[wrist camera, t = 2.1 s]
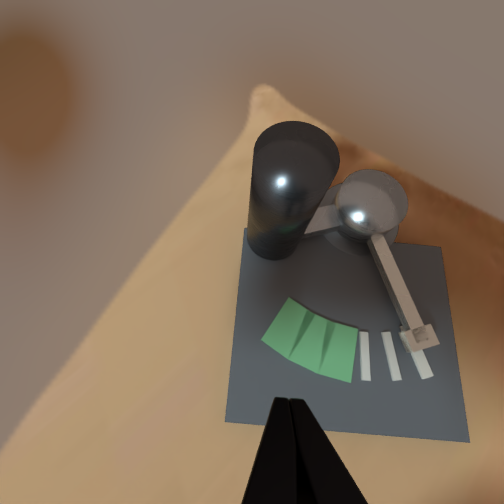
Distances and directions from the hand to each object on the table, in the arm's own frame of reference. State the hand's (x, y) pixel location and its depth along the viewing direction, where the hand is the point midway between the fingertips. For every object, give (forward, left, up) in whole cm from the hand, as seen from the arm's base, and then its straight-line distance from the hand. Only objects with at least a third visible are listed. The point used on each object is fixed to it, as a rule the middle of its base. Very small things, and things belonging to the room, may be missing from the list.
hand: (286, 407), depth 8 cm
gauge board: (+6, -5, -11) cm, 13 cm away
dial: (+7, -5, -9) cm, 13 cm away
